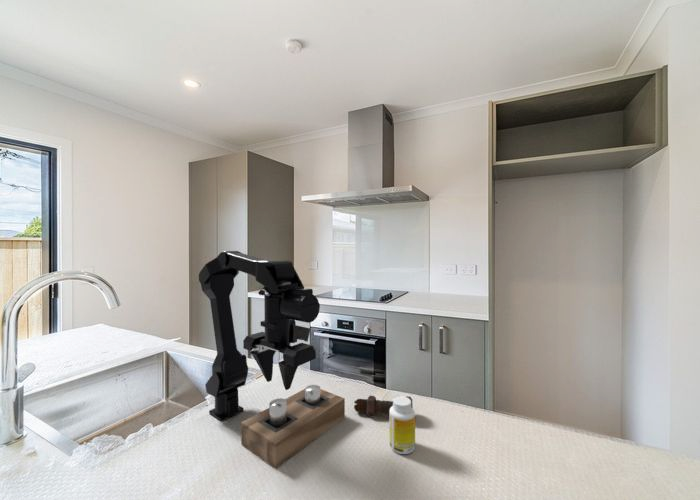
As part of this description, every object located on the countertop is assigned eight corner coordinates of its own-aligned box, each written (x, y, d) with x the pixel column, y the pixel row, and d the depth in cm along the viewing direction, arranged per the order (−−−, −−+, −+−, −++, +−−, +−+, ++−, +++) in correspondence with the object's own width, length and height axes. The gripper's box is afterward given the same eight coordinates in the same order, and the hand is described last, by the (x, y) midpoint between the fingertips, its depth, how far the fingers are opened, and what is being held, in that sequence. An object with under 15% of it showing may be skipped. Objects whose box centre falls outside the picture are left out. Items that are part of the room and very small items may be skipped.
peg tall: (266, 424, 66) (265, 403, 66) (279, 417, 69) (279, 396, 69) (276, 431, 63) (276, 409, 63) (290, 422, 66) (290, 401, 66)
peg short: (302, 407, 75) (302, 389, 74) (312, 401, 78) (312, 383, 77) (312, 412, 72) (312, 393, 72) (323, 406, 75) (323, 387, 75)
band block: (241, 444, 65) (241, 422, 65) (311, 402, 83) (311, 385, 83) (275, 469, 58) (275, 444, 58) (344, 417, 76) (344, 398, 76)
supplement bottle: (420, 450, 63) (420, 403, 63) (399, 459, 61) (399, 410, 61) (404, 435, 68) (404, 392, 68) (384, 443, 66) (384, 397, 66)
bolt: (356, 417, 79) (413, 422, 76) (352, 417, 75) (412, 422, 71) (357, 393, 82) (412, 397, 78) (353, 391, 78) (411, 396, 74)
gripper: (332, 314, 67) (332, 383, 67) (279, 305, 78) (279, 363, 78) (295, 325, 58) (296, 404, 58) (241, 313, 69) (242, 378, 69)
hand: (278, 385), depth 66 cm, fingers open, 6 cm apart
